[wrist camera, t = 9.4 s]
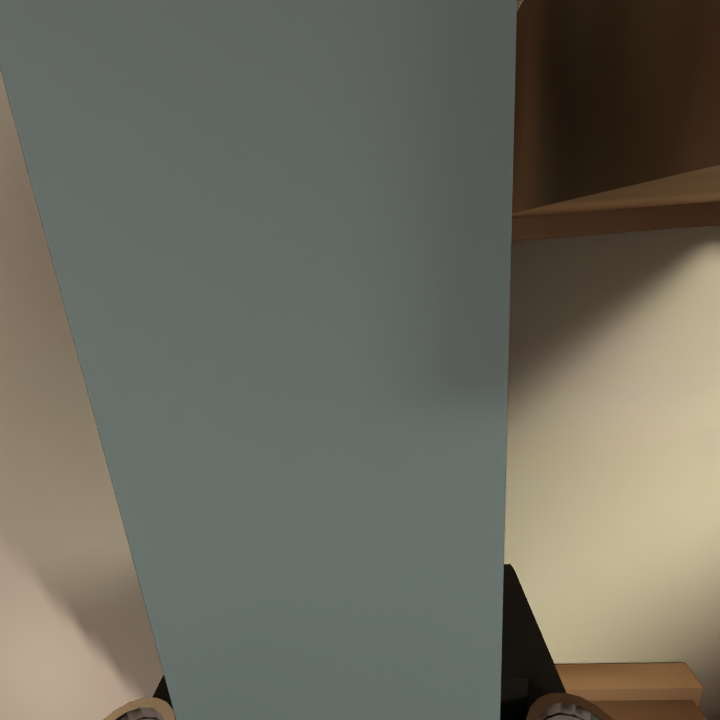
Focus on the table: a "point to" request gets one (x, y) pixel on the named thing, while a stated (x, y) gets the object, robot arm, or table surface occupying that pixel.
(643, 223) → the post
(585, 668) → the post
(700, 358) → the table surface
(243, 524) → the rail
